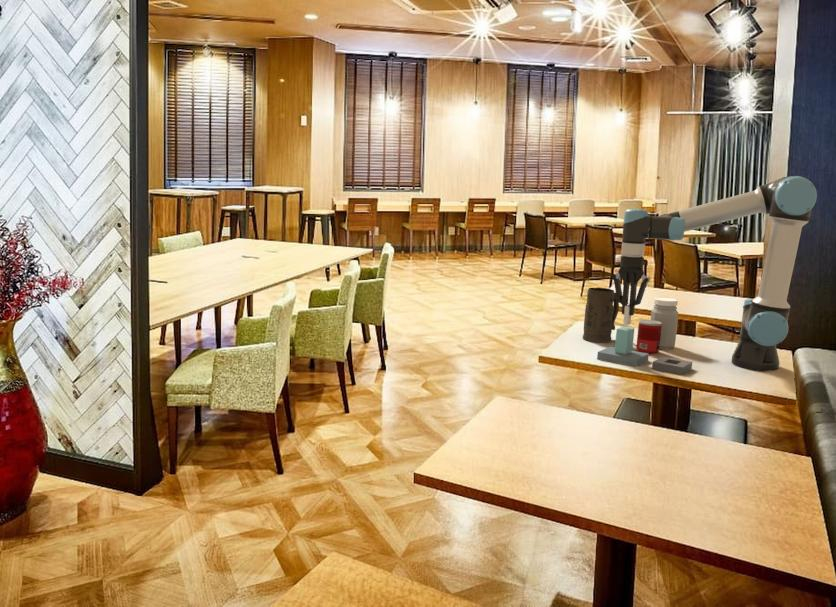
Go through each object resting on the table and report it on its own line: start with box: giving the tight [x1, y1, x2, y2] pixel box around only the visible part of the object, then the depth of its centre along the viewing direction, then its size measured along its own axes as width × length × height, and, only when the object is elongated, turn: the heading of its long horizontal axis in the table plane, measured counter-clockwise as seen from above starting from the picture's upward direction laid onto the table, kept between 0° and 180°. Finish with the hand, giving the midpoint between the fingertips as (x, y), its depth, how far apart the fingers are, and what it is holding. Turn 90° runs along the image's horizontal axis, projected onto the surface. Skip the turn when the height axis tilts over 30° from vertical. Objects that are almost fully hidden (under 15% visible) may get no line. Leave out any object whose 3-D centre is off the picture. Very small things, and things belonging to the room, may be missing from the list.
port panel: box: [596, 346, 650, 367], centre depth 269 cm, size 14×11×2 cm
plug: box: [614, 326, 635, 355], centre depth 268 cm, size 4×6×11 cm, turn 144°
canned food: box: [635, 319, 662, 355], centre depth 283 cm, size 8×8×11 cm
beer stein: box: [582, 287, 620, 344], centre depth 299 cm, size 15×11×20 cm
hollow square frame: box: [651, 356, 693, 375], centre depth 260 cm, size 10×10×2 cm
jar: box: [650, 296, 679, 350], centre depth 291 cm, size 10×10×18 cm
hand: (626, 324), depth 267 cm, fingers closed
